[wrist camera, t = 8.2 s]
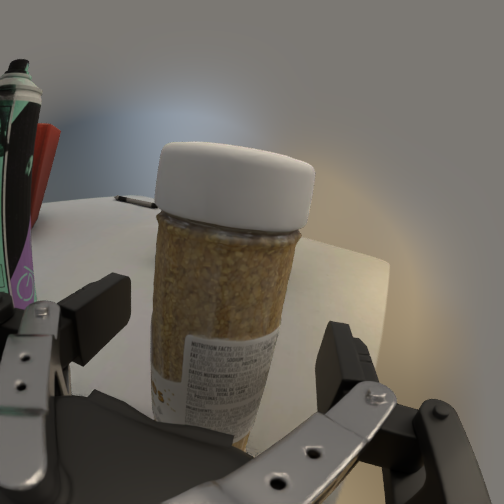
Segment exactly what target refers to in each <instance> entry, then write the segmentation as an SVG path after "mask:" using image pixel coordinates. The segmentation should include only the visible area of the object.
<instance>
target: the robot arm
mask: <svg viewBox="0 0 504 504" xmlns="http://www.w3.org/2000/svg"><path fill="white" fill-rule="evenodd" d="M130 315H131V280H130V278H129V277H128V276H124V275H120V274H117V273H111V274H109V275H107V276H106V277H104V278H102V279H101V280H99V281H96V282H93V283H89V284H88V285H86V286H84V287H83V288H82V289H79V290H78V291H76V292H75V293H73V294H71V295H70V296H68V297H66V298H65V299H63V300H62V301H60V302H58V303H57V304H56V303H54V302H51V301H37V302H33V303H31V304H29V305H28V306H27V307H26V308H25V310H24V309H19V308H14V305H13V299H12V296H11V295H10V294H8V293H5V292H0V504H321V503H322V502H323V501H324V500H325V499H326V498H327V497H328V496H329V495H330V494H331V493H332V492H333V491H334V489H335V488H336V487H337V486H338V485H339V484H340V483H341V482H342V481H343V480H344V478H345V477H346V476H347V475H348V474H349V473H350V472H351V470H352V469H353V468H354V467H355V466H356V464H357V463H358V462H359V461H361V462H365V463H368V464H372V465H375V466H379V467H382V473H383V482H384V491H385V502H386V504H491V500H490V497H489V494H488V491H487V488H486V485H485V482H484V479H483V476H482V473H481V470H480V468H479V465H478V462H477V460H476V457H475V455H474V452H473V450H472V447H471V445H470V442H469V440H468V437H467V435H466V433H465V430H464V428H463V426H462V423H461V421H460V419H459V417H458V414H457V412H456V411H455V409H454V408H453V407H451V405H449V404H448V403H446V402H444V401H441V400H438V399H429V400H426V401H424V402H423V403H422V405H421V407H420V408H419V410H418V409H413V408H410V407H406V406H403V405H399V404H397V398H396V396H395V394H394V392H393V391H392V390H391V389H390V388H388V387H387V386H385V385H383V384H381V383H379V380H378V377H377V374H376V371H375V368H374V365H373V363H372V360H371V357H370V356H369V355H370V354H369V351H368V349H367V346H366V345H365V344H364V343H363V342H362V341H361V340H360V339H359V338H353V336H352V333H351V330H350V327H349V324H345V323H339V322H333V321H329V323H328V325H327V327H326V330H325V334H324V337H323V340H322V343H321V346H320V349H319V352H318V355H317V359H316V365H315V375H316V391H317V410H318V412H316V413H314V414H313V415H312V416H311V417H309V418H308V419H307V420H306V421H304V422H303V423H302V424H301V425H299V426H298V427H297V428H295V429H294V430H293V431H291V432H290V433H289V434H288V435H286V436H285V437H283V438H282V439H281V440H279V441H278V442H277V443H275V444H274V445H272V446H271V447H270V448H268V449H267V450H265V451H264V452H262V453H261V454H260V455H258V456H257V457H255V458H254V457H252V456H251V455H249V454H248V453H246V452H244V451H242V450H241V449H239V448H236V447H234V446H232V444H233V439H234V435H231V434H226V433H222V432H218V431H214V430H210V429H206V428H202V427H198V426H192V425H181V424H172V423H164V422H158V421H154V420H152V419H150V418H149V417H147V416H146V415H144V414H142V413H141V412H139V411H138V410H136V409H135V408H133V407H131V406H130V405H128V404H127V403H125V402H124V401H121V400H119V399H116V398H114V397H111V396H109V395H107V394H104V393H102V392H100V391H98V390H95V389H94V390H93V392H92V393H91V394H90V395H89V396H88V397H84V396H75V395H72V393H71V371H70V366H69V364H70V363H71V362H75V363H77V364H79V365H81V366H83V367H84V366H85V365H86V364H87V363H88V362H89V361H90V360H91V359H92V358H93V357H94V356H95V355H96V354H97V353H98V352H99V351H100V350H101V349H102V348H103V347H104V346H105V345H106V344H107V343H108V342H109V341H110V340H111V339H112V338H113V337H114V336H115V335H116V334H117V333H118V332H119V331H121V330H122V329H123V328H124V327H125V326H126V325H127V323H128V321H129V319H130Z"/></svg>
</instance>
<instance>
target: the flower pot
mask: <svg viewBox="0 0 504 504" xmlns="http://www.w3.org/2000/svg"><path fill="white" fill-rule="evenodd" d="M60 132H61V131H60V130H59V129H57V128H56V127H54V126H53V125H51V124H42V123H38V125H37V132H36V139H35V148H34V157H33V168H32V183H31V229H32V227H33V225H34V224H35V222H36V220H37V218H38V215H39V211H40V208H41V204H42V201H43V197H44V193H45V190H46V186H47V182H48V179H49V175H50V171H51V167H52V164H53V160H54V156H55V152H56V148H57V145H58V141H59V137H60Z"/></svg>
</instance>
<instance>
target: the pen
mask: <svg viewBox="0 0 504 504" xmlns="http://www.w3.org/2000/svg"><path fill="white" fill-rule="evenodd" d="M114 198H115V199H116V200H120V201H124V202H129V203H134V204H138V205H142V206H146V207H151V208H158V207H157V206H156V204H155V203H150V202H146V201H141V200H136V199H131V198H127V197H122V196H118V195H117V196H115V197H114Z"/></svg>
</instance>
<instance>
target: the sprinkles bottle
mask: <svg viewBox="0 0 504 504" xmlns="http://www.w3.org/2000/svg"><path fill="white" fill-rule="evenodd" d="M314 181H315V170H314V168H313V167H312V166H311V165H310V164H308V163H306V162H303V161H300V160H296V159H293V158H291V157H289V156H285V155H281V154H277V153H273V152H268V151H263V150H258V149H252V148H247V147H241V146H234V145H227V144H219V143H208V142H172V143H168V144H166V145H165V146H164V147H163V149H162V151H161V155H160V161H159V167H158V174H157V181H156V189H155V204H156V206H157V207H158V208H159V209H161V210H162V211H161V213H159V214H158V215H157V216H156V218H157V221H158V224H159V226H158V234H157V243H156V256H155V275H154V293H153V313H152V318H151V395H152V410H153V414H154V418H155V420H154V421H158V422H164V423H172V424H181V425H192V426H198V427H202V428H206V429H210V430H214V431H218V432H222V433H226V434H231V435H234V439H233V444H232V446H234V447H236V448H239V449H241V450H242V451H244V452H246V444H247V441H248V437H249V433H250V430H251V429H252V427H253V425H254V422H255V419H256V415H257V412H258V409H259V405H260V402H261V398H262V395H263V391H264V387H265V384H266V380H267V376H268V373H269V369H270V365H271V361H272V357H273V353H274V349H275V345H276V341H277V337H278V333H279V329H280V325H281V314H282V309H283V303H284V299H285V294H286V290H287V284H288V280H289V275H290V271H291V268H292V263H293V257H294V252H295V246H296V244H297V242H298V241H299V239H300V238H301V236H302V235H301V233H300V232H299V231H298V229H301V228H303V227H304V226H305V225H306V224H307V220H308V215H309V210H310V205H311V200H312V194H313V187H314Z"/></svg>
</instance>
